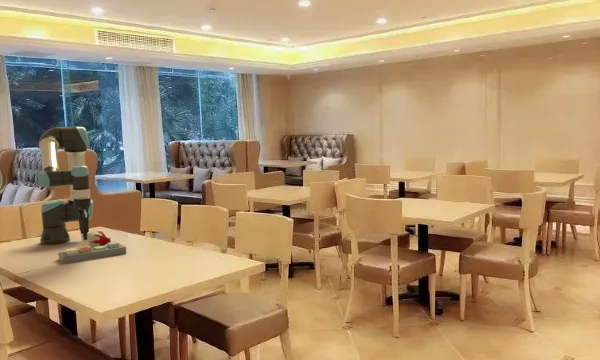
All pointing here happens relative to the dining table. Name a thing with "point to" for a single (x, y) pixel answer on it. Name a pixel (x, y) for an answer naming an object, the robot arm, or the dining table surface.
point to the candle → (97, 239)
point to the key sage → (99, 248)
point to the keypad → (91, 254)
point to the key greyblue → (112, 245)
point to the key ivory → (71, 251)
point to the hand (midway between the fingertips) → (85, 246)
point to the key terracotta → (85, 249)
